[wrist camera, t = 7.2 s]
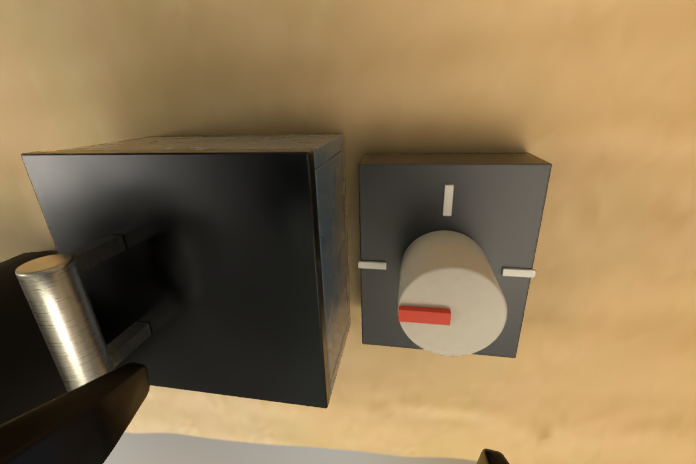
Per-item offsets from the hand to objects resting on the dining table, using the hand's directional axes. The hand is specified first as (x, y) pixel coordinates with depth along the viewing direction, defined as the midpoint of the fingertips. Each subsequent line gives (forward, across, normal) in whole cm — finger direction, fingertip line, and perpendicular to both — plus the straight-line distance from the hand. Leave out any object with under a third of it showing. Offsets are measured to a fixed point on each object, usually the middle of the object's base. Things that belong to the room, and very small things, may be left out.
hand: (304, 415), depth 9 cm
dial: (+9, -4, -1) cm, 10 cm away
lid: (+6, +7, +1) cm, 9 cm away
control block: (+12, -4, 0) cm, 13 cm away
